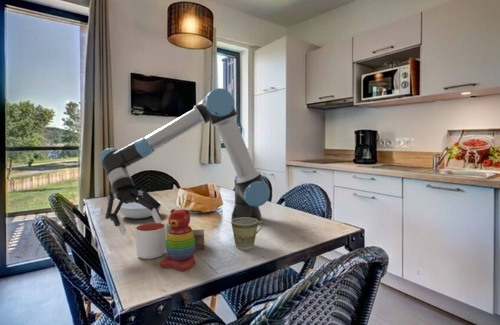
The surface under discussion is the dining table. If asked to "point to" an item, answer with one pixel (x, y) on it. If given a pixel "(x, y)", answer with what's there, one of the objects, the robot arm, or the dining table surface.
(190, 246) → the stacking bear
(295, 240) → the dining table surface
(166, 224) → the grey rounded cylinder
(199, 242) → the walnut block
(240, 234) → the ceramic cup
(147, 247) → the cup
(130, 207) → the serving bowl
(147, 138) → the robot arm
